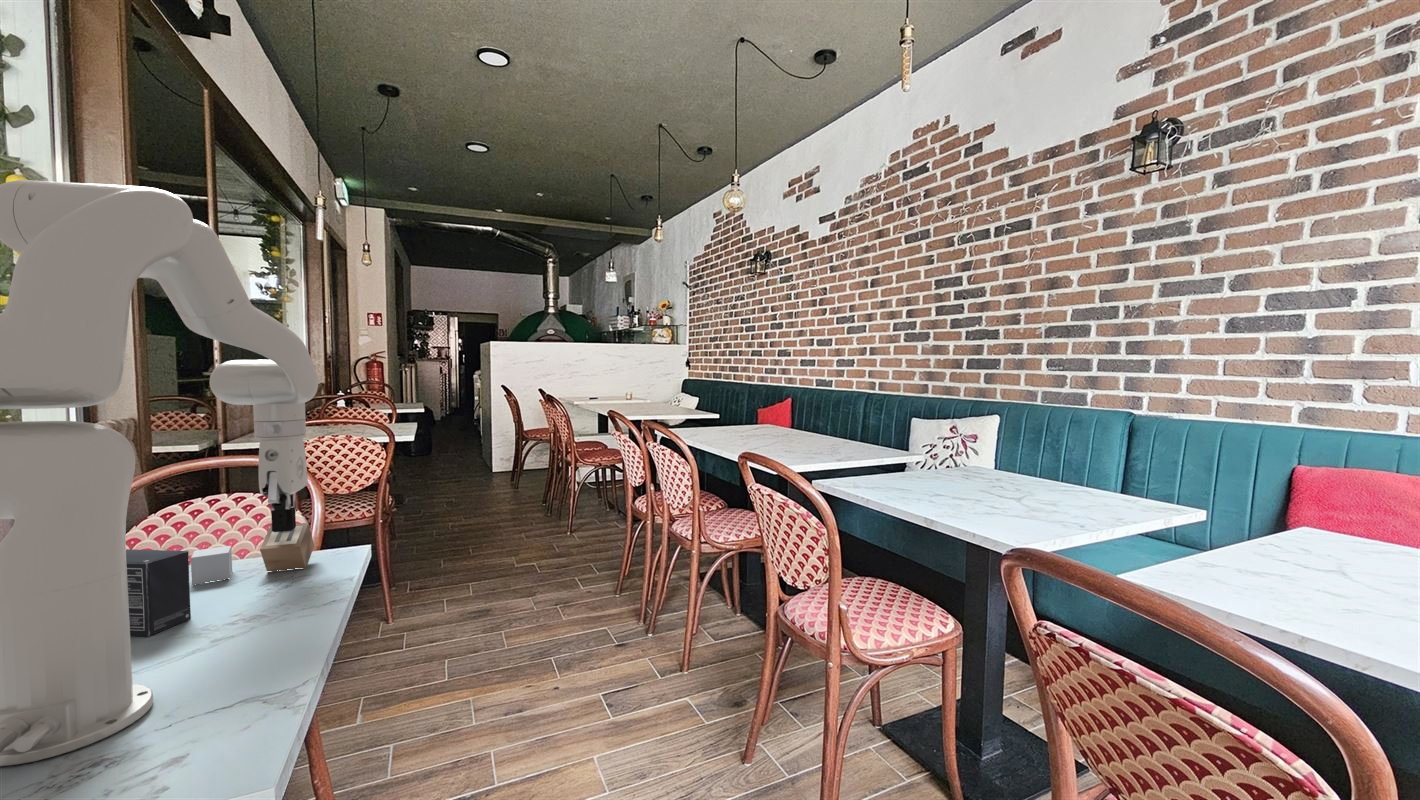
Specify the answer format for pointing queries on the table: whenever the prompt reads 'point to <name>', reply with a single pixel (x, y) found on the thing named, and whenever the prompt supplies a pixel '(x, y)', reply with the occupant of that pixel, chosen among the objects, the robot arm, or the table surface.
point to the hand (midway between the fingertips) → (284, 530)
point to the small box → (157, 590)
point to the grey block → (211, 564)
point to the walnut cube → (287, 548)
